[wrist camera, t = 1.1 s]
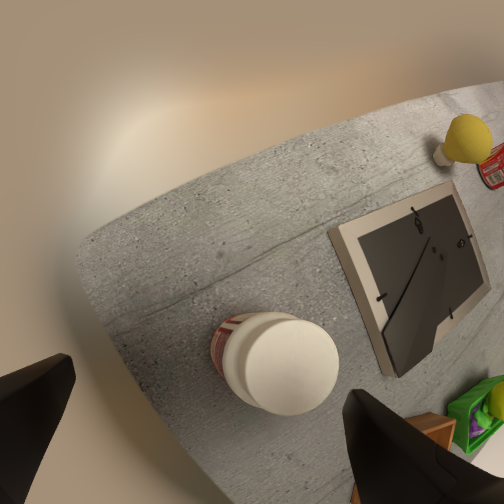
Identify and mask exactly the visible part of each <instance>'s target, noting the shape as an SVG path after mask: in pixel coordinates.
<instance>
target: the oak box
mask: <svg viewBox="0 0 504 504" xmlns="http://www.w3.org/2000/svg"><path fill="white" fill-rule="evenodd" d="M404 420H406V421H407V422H408V423H410V424H411V425H412V426H414V427H415V428H417V429H418V430H419V431H421V432H422V433H424V434H425V435H427V436H428V437H429V438H431V439H432V440H434V441H435V442H436V443H438V444H440V445H441V446H442V447H444V448H445V449H447V450H448V451H450V447H451V442H452V438H453V433H454V429H455V424H456V419H454V418H450V417H446V416H442V415H438V414H434V413H427V414H423V415H420V416H416V417H412V418H408V419H404ZM351 503H352V504H361V503H360V499H359V495H358V491H357V487H356V483H355V485H354V490H353V494H352V498H351Z"/></svg>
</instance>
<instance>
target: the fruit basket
mask: <svg viewBox="0 0 504 504" xmlns="http://www.w3.org/2000/svg"><path fill="white" fill-rule="evenodd" d="M447 409H448V415H447V417H450V418H454V419H456V424H455V429H454V433H453V438H452V441H453V442H454V443H455V444H457V445H458V446H459V447H460V448H462V449H463V451H464V452H465V453H466V454H467V455H470V454H471V453H472V452H474V451H475V450H476V449H477V448H478V447H479V446H481V445H482V444H483V443H484V442H485V441H486V440H487V439H488V438H489V437H490V436H492V435H493V434H494V433H495V432H496V431H497V430H498V429H499V428H500V427H501V426H502V425H503V424H504V375H500V376H496V377H492V378H488V379H484V380H482V381H481V382H480V383H479V384H478V385H477V386H474V387H473V388H471V389H470V390H469V391H468V392H467V393H464V394H463V395H461V396H460V397H459V398H458V399H457V400H454V401H453V402H451V403H450V404H448V406H447Z"/></svg>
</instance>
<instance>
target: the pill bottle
mask: <svg viewBox="0 0 504 504" xmlns="http://www.w3.org/2000/svg"><path fill="white" fill-rule="evenodd" d="M211 357H212V361H213V364H214V366H215V368H216V370H217V371H218V372H219V374H220V375H221V376H222V378H223V379H224V380H225V381H226V383H227V384H228V385H229V387H230V388H231V389H232V391H233V392H234V393H235V394H236V395H237V396H238V397H239V398H241V399H242V400H243V401H244V402H246V403H248V404H250V405H252V406H255V407H258V408H262V409H265V410H266V411H268V412H270V413H273V414H277V415H281V416H296V415H300V414H303V413H306V412H308V411H311V410H312V409H314V408H316V407H317V406H318V405H320V404H321V403H322V402H323V401H324V400H325V399H326V398H327V396H328V395H329V394H330V392H331V391H332V389H333V387H334V385H335V383H336V379H337V376H338V370H339V358H338V353H337V349H336V346H335V344H334V342H333V340H332V339H331V337H330V336H329V335H328V334H327V332H326V331H324V330H323V329H322V328H321V327H320V326H318V325H316V324H314V323H312V322H309V321H305V320H301V319H299V318H297V317H295V316H293V315H290V314H287V313H283V312H276V311H271V312H257V313H245V314H239V315H236V316H233V317H231V318H229V319H227V320H226V321H225V322H223V323H222V324H221V325H220V326H219V328H218V329H217V330H216V332H215V334H214V336H213V339H212V342H211Z"/></svg>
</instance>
